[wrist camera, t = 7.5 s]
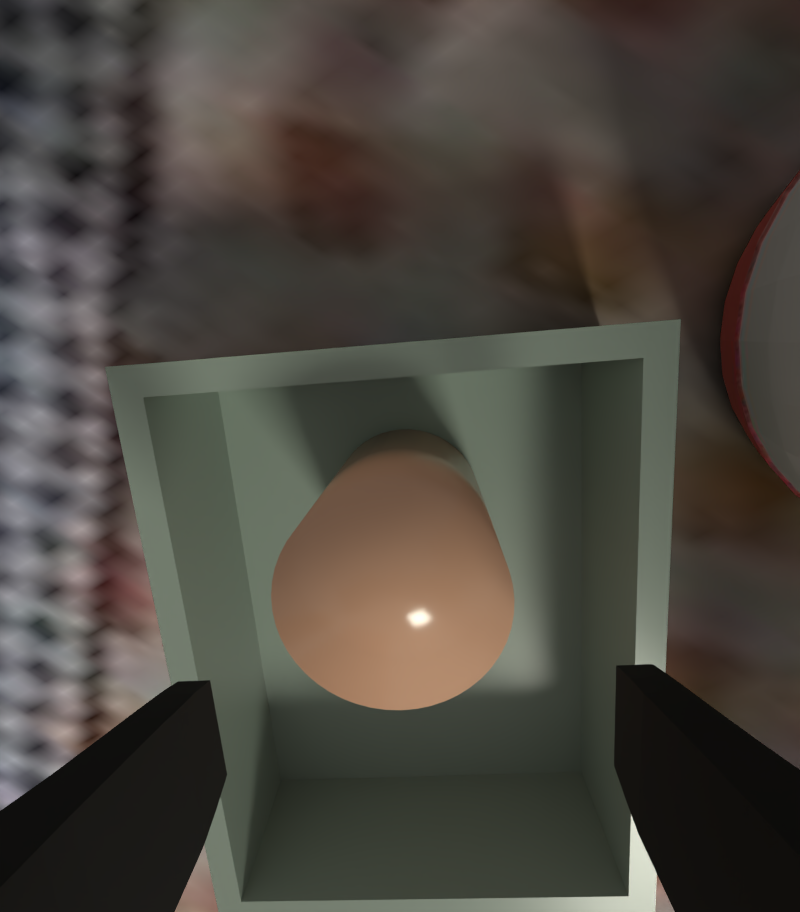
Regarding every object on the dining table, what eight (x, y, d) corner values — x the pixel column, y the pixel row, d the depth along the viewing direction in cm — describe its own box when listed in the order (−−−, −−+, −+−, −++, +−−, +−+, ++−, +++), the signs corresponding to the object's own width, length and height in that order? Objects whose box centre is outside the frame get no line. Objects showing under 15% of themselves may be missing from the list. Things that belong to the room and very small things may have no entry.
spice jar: (475, 423, 16) (509, 479, 9) (482, 563, 17) (518, 706, 10) (327, 434, 16) (254, 496, 10) (343, 570, 17) (288, 713, 11)
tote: (600, 328, 16) (681, 319, 11) (596, 774, 20) (654, 916, 15) (198, 361, 17) (104, 367, 12) (268, 784, 20) (220, 921, 15)
